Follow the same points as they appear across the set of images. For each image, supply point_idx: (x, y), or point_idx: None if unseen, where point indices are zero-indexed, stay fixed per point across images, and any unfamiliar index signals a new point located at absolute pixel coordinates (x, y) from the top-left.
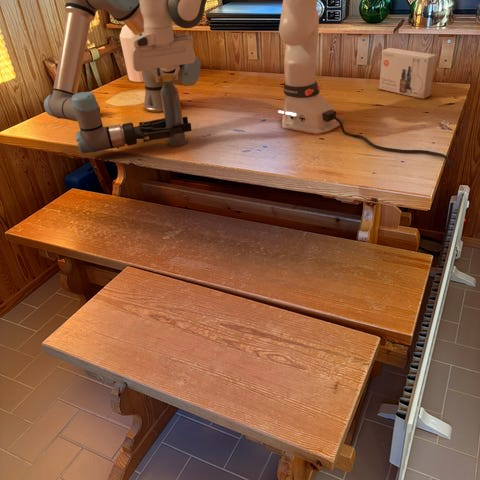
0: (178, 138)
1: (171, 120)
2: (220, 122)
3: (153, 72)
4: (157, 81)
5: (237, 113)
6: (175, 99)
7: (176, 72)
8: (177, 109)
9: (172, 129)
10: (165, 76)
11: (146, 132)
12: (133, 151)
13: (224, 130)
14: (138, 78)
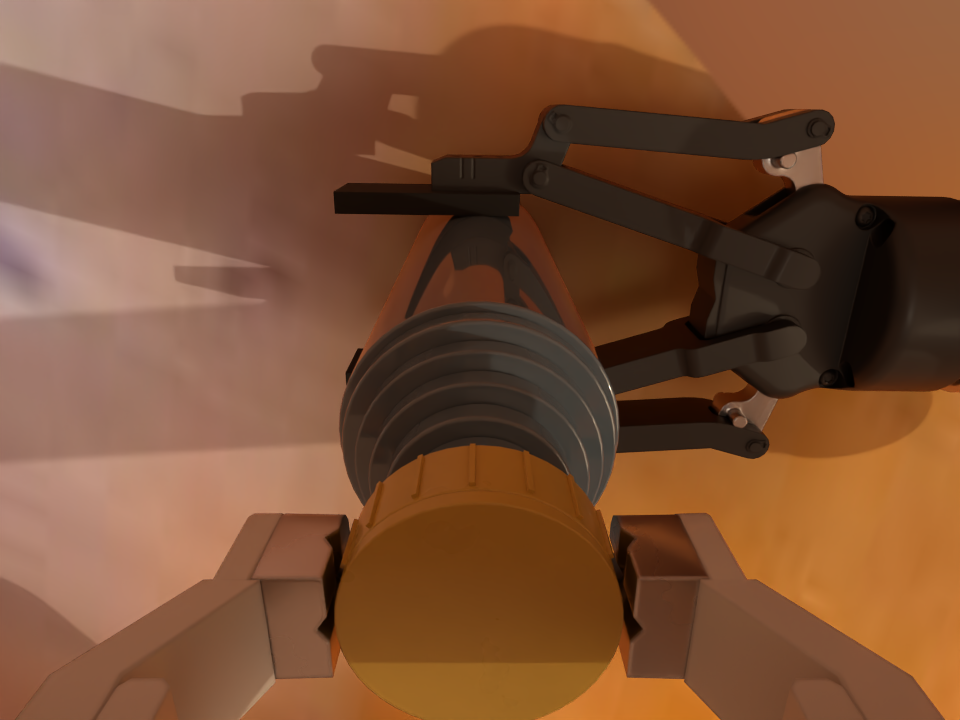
0: None
1: (515, 231)
2: (134, 470)
3: (863, 679)
4: (699, 521)
5: (6, 565)
6: (420, 291)
7: (210, 608)
8: (426, 258)
9: (523, 164)
10: (516, 559)
11: (762, 216)
12: None
13: (112, 316)
14: None
